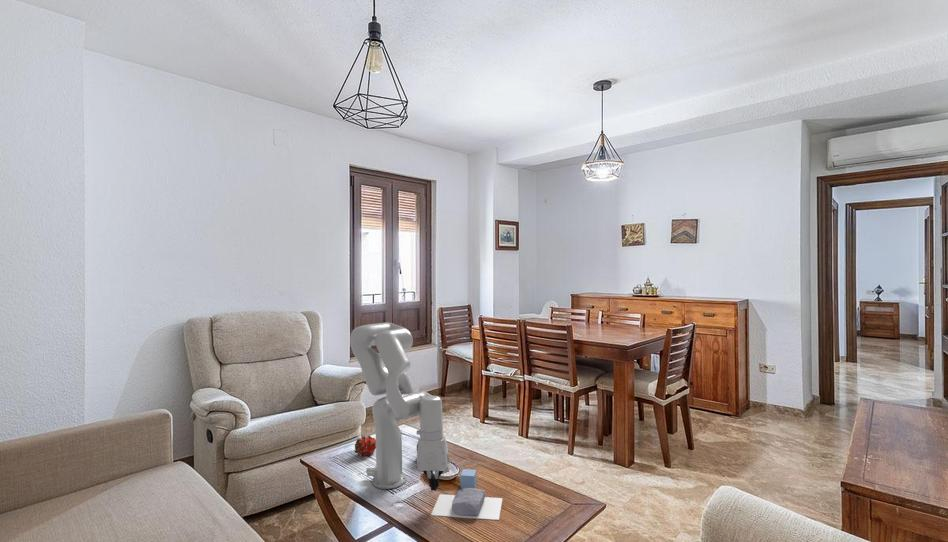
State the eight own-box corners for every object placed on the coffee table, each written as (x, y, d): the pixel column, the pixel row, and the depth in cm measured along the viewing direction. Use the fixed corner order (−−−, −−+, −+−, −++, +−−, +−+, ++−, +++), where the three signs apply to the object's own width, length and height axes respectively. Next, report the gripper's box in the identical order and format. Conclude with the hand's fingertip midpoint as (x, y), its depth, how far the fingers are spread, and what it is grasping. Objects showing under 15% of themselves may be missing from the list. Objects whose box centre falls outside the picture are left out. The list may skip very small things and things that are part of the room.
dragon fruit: (353, 463, 187) (373, 457, 197) (366, 454, 184) (386, 448, 194) (346, 444, 190) (366, 438, 201) (359, 435, 187) (379, 430, 198)
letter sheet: (430, 515, 145) (430, 514, 145) (439, 494, 157) (439, 494, 157) (498, 520, 141) (498, 519, 141) (502, 498, 154) (502, 498, 154)
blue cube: (460, 489, 161) (460, 475, 161) (463, 482, 166) (462, 469, 166) (474, 490, 161) (474, 476, 161) (476, 483, 166) (476, 469, 166)
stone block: (451, 519, 144) (480, 516, 142) (448, 504, 145) (477, 501, 143) (459, 501, 156) (487, 498, 154) (457, 488, 156) (484, 484, 154)
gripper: (407, 437, 148) (409, 493, 148) (451, 438, 146) (454, 495, 146) (413, 430, 155) (415, 483, 155) (456, 430, 153) (458, 484, 153)
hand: (434, 488), depth 150 cm, fingers closed
